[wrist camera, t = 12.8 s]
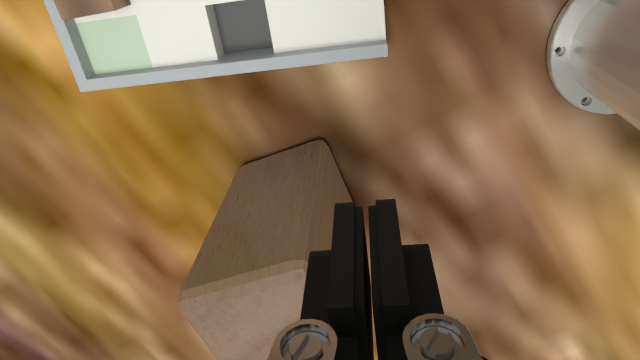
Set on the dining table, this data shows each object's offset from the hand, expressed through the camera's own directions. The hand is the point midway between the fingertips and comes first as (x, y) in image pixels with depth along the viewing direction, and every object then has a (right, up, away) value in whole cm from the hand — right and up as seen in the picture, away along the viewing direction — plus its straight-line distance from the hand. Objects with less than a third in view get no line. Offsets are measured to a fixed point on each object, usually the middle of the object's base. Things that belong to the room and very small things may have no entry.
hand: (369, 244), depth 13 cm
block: (-4, +1, +36) cm, 36 cm away
